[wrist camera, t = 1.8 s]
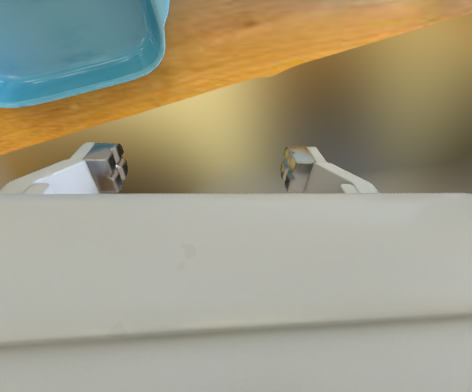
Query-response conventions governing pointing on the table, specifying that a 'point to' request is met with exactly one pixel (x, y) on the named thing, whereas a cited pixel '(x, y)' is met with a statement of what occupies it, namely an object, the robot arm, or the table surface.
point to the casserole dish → (76, 46)
